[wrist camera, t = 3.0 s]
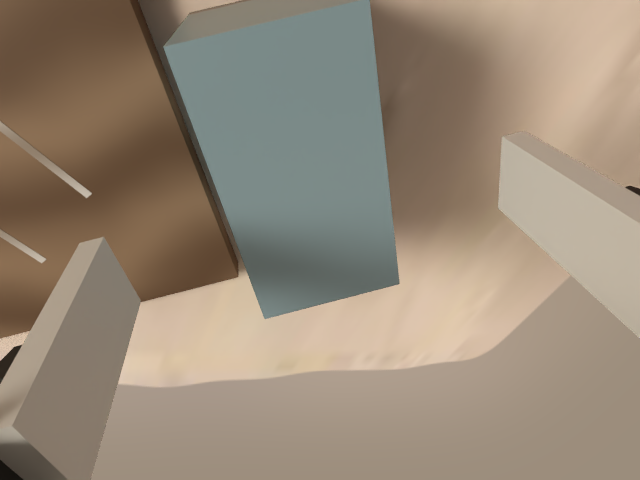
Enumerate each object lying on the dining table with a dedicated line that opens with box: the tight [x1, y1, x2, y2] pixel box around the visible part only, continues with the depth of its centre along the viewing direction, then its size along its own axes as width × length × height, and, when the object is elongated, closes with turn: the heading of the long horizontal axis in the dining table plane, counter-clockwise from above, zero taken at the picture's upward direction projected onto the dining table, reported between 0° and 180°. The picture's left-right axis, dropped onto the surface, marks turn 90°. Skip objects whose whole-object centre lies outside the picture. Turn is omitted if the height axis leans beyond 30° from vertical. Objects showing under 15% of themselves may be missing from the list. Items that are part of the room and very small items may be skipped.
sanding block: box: [163, 0, 399, 319], centre depth 19 cm, size 11×6×9 cm, turn 11°
